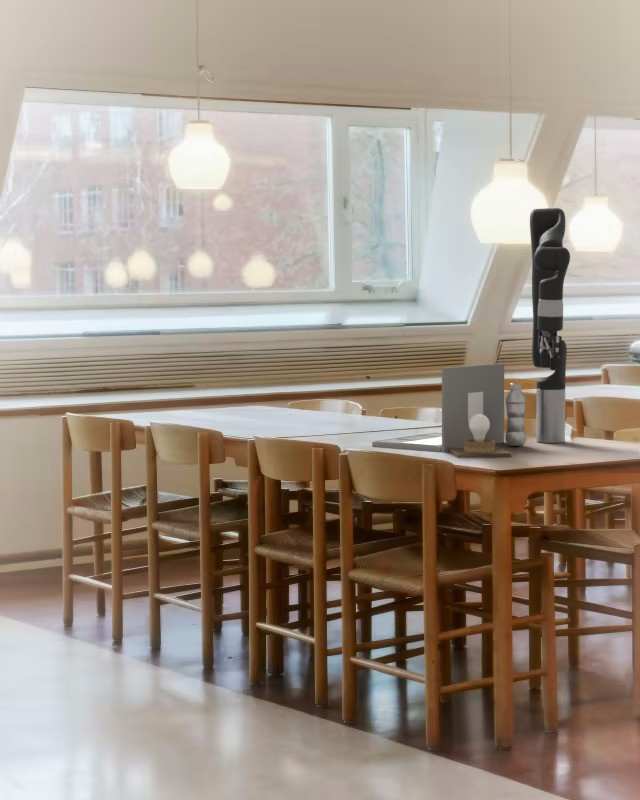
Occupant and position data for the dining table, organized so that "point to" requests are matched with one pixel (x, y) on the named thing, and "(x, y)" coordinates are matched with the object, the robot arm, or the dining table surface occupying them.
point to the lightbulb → (479, 427)
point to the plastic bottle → (515, 416)
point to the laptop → (462, 409)
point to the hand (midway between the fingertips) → (548, 367)
